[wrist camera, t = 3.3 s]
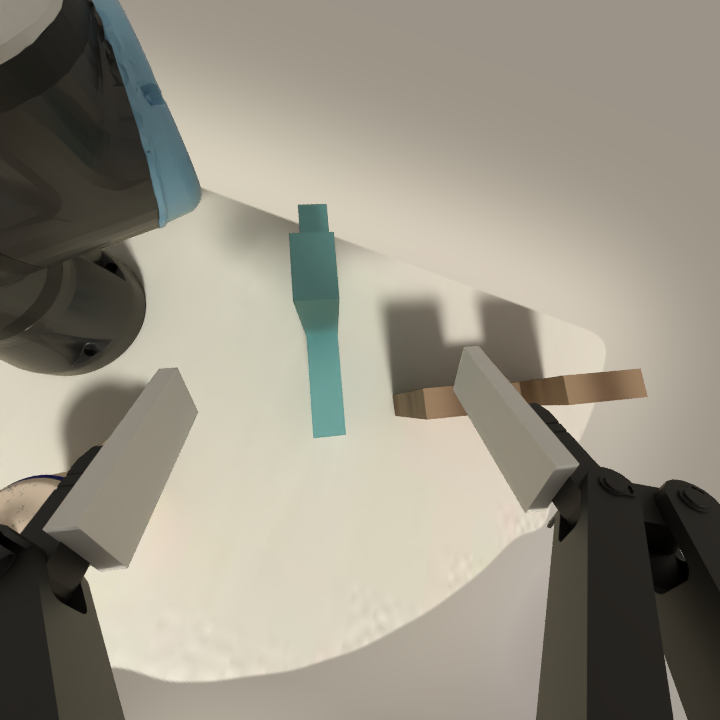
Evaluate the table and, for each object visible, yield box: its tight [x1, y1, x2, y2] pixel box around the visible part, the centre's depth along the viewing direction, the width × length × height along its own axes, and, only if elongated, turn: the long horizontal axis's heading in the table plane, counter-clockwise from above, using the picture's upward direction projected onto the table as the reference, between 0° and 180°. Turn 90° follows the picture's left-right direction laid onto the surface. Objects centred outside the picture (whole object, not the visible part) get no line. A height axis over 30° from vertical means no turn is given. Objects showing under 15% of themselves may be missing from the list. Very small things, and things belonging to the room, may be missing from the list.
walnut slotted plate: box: [393, 369, 647, 419], centre depth 30 cm, size 20×2×12 cm, turn 95°
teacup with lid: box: [0, 441, 152, 566], centre depth 25 cm, size 12×9×12 cm
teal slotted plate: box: [289, 204, 346, 438], centre depth 26 cm, size 20×2×20 cm, turn 5°
